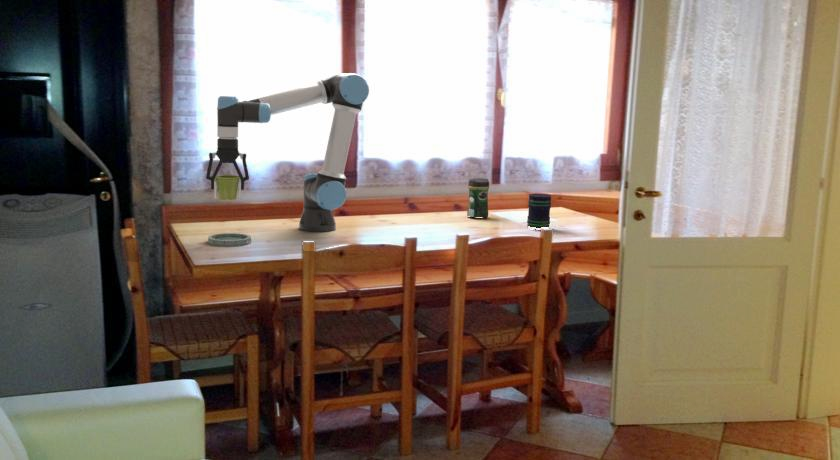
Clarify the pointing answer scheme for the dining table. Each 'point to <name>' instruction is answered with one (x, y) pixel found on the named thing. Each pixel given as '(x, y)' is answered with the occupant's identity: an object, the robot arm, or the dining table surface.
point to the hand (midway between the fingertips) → (227, 198)
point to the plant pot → (227, 186)
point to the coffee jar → (478, 197)
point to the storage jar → (539, 210)
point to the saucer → (229, 239)
